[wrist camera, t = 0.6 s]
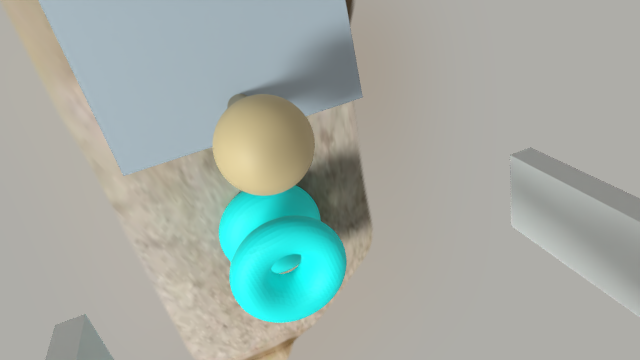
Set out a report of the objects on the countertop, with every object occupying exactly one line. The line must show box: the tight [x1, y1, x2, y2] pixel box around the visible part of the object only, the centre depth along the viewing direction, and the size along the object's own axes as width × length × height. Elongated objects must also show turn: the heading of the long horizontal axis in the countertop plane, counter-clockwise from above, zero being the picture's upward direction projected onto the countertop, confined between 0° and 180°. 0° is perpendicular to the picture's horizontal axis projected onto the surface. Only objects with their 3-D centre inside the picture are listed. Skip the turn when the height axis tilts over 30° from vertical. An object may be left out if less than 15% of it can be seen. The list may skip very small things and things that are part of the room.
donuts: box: [219, 185, 346, 323], centre depth 41 cm, size 10×10×10 cm
